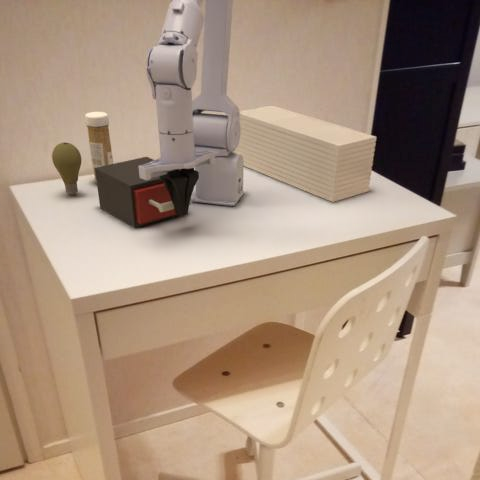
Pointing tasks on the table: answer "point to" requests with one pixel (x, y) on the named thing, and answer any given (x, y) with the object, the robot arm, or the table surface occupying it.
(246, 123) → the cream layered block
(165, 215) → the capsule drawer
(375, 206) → the table surface
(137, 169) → the black drawer box
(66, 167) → the light bulb
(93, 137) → the spice jar
